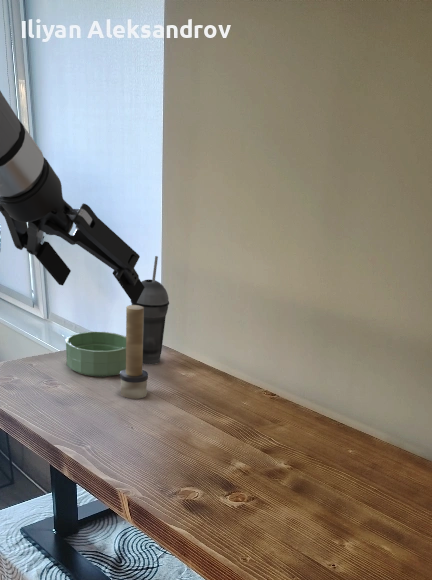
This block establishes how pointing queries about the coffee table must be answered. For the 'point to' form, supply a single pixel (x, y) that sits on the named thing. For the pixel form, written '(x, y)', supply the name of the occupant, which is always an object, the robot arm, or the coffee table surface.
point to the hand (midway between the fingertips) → (100, 286)
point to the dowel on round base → (134, 355)
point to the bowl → (96, 353)
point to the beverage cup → (153, 317)
